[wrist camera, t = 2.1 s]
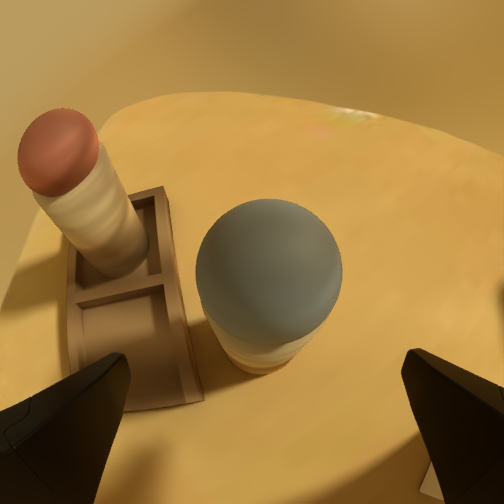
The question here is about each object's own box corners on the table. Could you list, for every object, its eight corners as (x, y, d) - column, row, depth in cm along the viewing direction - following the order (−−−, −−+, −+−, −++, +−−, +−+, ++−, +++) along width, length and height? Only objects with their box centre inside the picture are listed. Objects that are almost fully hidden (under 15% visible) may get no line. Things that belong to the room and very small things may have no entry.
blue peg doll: (295, 376, 17) (373, 332, 6) (218, 370, 17) (158, 317, 6) (299, 305, 20) (354, 173, 9) (227, 299, 20) (197, 161, 9)
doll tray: (204, 400, 16) (199, 400, 15) (91, 413, 15) (76, 413, 14) (168, 201, 24) (163, 185, 22) (82, 224, 23) (72, 212, 21)
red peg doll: (140, 282, 19) (47, 147, 8) (85, 274, 20) (-14, 161, 9) (156, 224, 22) (100, 82, 11) (104, 221, 22) (35, 100, 11)
